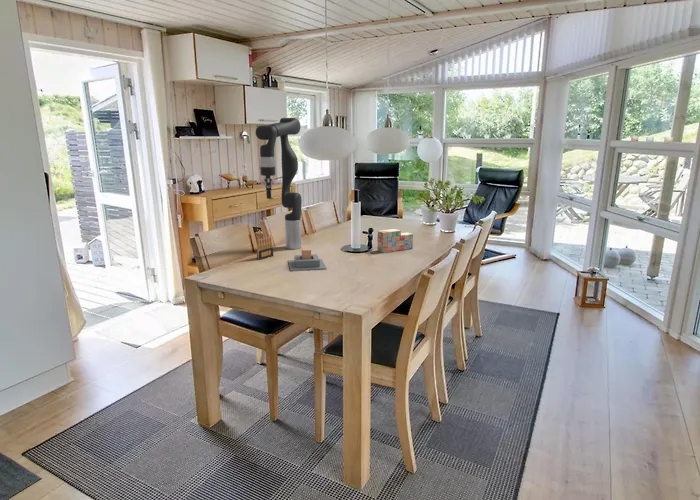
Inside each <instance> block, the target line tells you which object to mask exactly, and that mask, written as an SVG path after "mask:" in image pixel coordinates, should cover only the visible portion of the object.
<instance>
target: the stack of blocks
mask: <svg viewBox="0 0 700 500" xmlns="http://www.w3.org/2000/svg"><path fill="white" fill-rule="evenodd" d="M413 244H414V234H413V233H411V232H402V231H401V230H400V229H396V228H391V229H380V230H377V248H376V249H377V250H378V251H377V252H380V253H383V254H384V253H392V251H393V252H399V251H398V250H400V251H406V250H405V249H407V250H412V249H413V246H414V245H413Z"/></svg>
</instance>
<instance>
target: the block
mask: <svg viewBox="0 0 700 500" xmlns="http://www.w3.org/2000/svg"><path fill="white" fill-rule="evenodd" d="M300 249H301V255H302V260H306V259H311V255H312V249H311V248H310V247H304V248H302V247H301V248H300Z"/></svg>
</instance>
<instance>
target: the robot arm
mask: <svg viewBox="0 0 700 500" xmlns="http://www.w3.org/2000/svg"><path fill="white" fill-rule="evenodd" d="M300 131H301V122H300V120H299V119H298V118H296V117H282V118H280V120H279V122H275V123H271V124H262V125H258V126H257V128H255V136H256V138H257V139H259V140H261V141H267V143H266V144H262V145H260V146H259V150H260V151H259V152H260V154H259V156H260V158H259V161H260V162H259V165H260V167H259V168H260V169H259V170H260V171H259V172H260V176H263V177H264V176H265V177H264V179H263V180H264V182H263V183H264V187H265V191H266V199H269V200H270V199H272V190H273V189H272V188H273V178H271V177H273V176H276V160H275V145H276V141H277V138H278V137H279V138H280V146H281V152H280V153H281V205H282V207H283V208H286V209H292V210H291V212H290V213H286V214H285V215H284V229H285V233H284V235H285V249H288V250H298V249H301V248H302V235H301V234H302V228H301V227H302V226H301V225H302V224H301V223H302V221H301V219H302V218H301V217H302V201H303V200H302V194H301V193H298V192H291V184H292V181H293V179H294V178H295V176H296V175H297V172H298V168H299V165H298V156H297V154H296V153H295V151H294V150H293V148H292V145H291V143H290V141H289V135H292V136H295V135H298V134H299V133H300Z"/></svg>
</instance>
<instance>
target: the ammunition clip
mask: <svg viewBox="0 0 700 500" xmlns="http://www.w3.org/2000/svg"><path fill="white" fill-rule="evenodd" d="M256 246H257V248H256V259H257V260H258V261H261V260H264V259H268V257H269V258H272V257H274V247H273V238H272V235H267V236H266V235H265V236H263V237H260V238H259V237H258V238H257V245H256Z"/></svg>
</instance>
